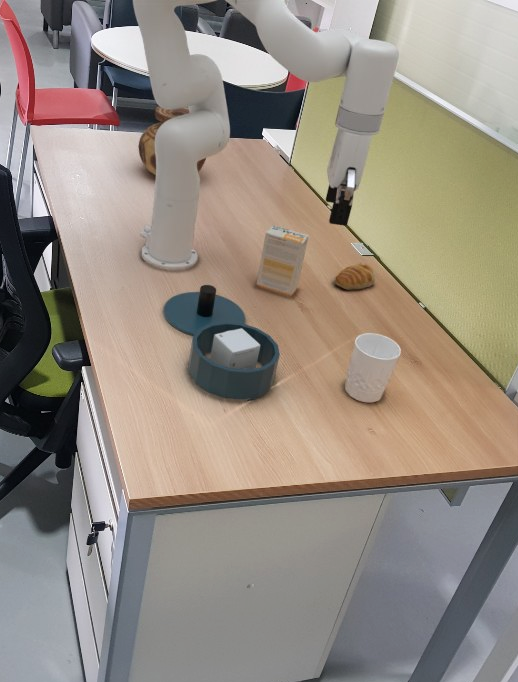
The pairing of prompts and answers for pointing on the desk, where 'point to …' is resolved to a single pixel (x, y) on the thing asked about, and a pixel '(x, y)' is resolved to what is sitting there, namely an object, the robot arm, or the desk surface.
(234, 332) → the product box
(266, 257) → the supplement box
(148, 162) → the clay pot
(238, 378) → the pot
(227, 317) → the pot lid
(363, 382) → the white cup
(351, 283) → the pastry
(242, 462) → the desk surface
